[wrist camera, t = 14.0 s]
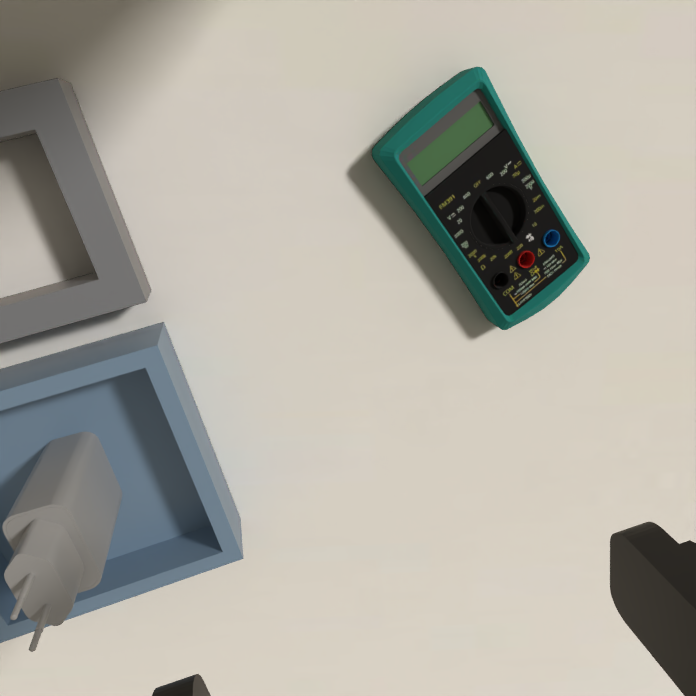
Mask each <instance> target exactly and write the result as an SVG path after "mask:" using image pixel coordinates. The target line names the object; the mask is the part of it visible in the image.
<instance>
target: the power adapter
mask: <svg viewBox="0 0 696 696" xmlns="http://www.w3.org/2000/svg"><path fill="white" fill-rule="evenodd" d="M121 500H122V490H121V488H120V486H119V483H118V481H117V479H116V477H115V474H114V472H113V470H112V467H111V465H110V463H109V461H108V458H107V456H106V454H105V452H104V449H103V447H102V445H101V442H100V440H99V438H98V437H97V436H96V435H95V434H93V433H91V432H79V433H76V434H72V435H69V436H65V437H61V438H58V439H54V440H52V441H50V442H48V444H47V445H46V446H45V448H44V450H43V452H42V453H41V455H40V457H39V459H38V461H37V463H36V464H35V466H34V468H33V470H32V472H31V474H30V475H29V477H28V479H27V481H26V483H25V485H24V486H23V488H22V490H21V492H20V494H19V495H18V497H17V499H16V501H15V503H14V505H13V506H12V508H11V510H10V512H9V514H8V516H7V517H6V519H5V521H4V523H3V526H2V527H3V532H4V535H5V536H6V538H7V540H8V542H9V543H10V545H11V547H12V549H13V551H14V554H13V556H12V558H11V560H10V562H9V564H8V566H7V568H6V570H5V573H4V578H5V581H6V583H7V584H8V586H9V588H10V589H11V591H12V593H13V595H14V596H15V598H16V600H17V602H16V604H15V607H14V609H13V611H12V614H11V616H10V619H11V620H16V619H17V617H18V614H19V612H20V609H21V608H22V610H23V612H24V613H25V615H26V616H27V617H28V618H29V619H30V620H32V621H34V622H38V623H37V626H36V629H35V633H34V636H33V639H32V642H31V644H30V647H29V650H30V651H31V652H33V651H35V650H36V647H37V644H38V641H39V638H40V636H41V633H42V632H43V629H44V626H45V624H48V625H53V626H58V625H61V624H62V623H63V621H64V620H65V619H66V617H67V616H68V615H69V613H70V612H71V610H72V608H73V605H74V602H75V599H76V595H77V593H80V592H83V591H87V590H90V589H92V588H94V587H96V586H97V585H98V584H99V583H100V581H101V578H102V574H103V570H104V566H105V563H106V559H107V555H108V551H109V547H110V543H111V539H112V535H113V531H114V527H115V523H116V519H117V516H118V512H119V508H120V504H121Z"/></svg>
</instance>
